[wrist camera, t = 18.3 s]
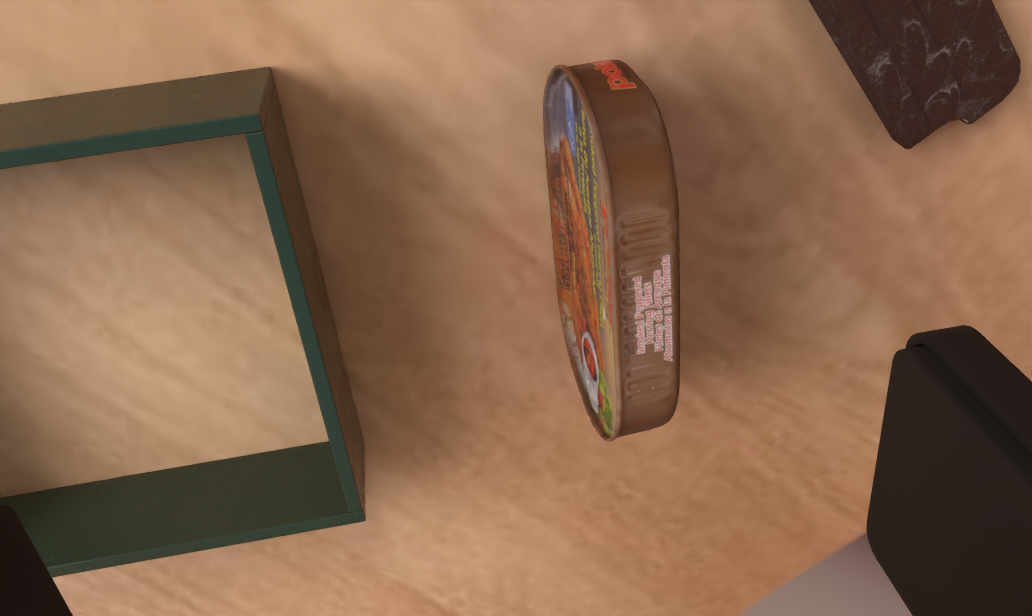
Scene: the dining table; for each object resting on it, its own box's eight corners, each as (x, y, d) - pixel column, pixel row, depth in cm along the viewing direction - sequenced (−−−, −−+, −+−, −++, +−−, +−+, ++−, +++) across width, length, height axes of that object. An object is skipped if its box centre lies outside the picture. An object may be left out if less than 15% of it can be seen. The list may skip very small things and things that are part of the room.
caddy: (-255, 140, 31) (-349, 201, 27) (271, 66, 33) (258, 113, 29) (-33, 513, 41) (-77, 601, 37) (364, 444, 43) (365, 521, 38)
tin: (535, 37, 34) (583, 115, 27) (617, 26, 34) (686, 100, 27) (562, 362, 42) (604, 488, 35) (628, 351, 42) (684, 474, 35)
